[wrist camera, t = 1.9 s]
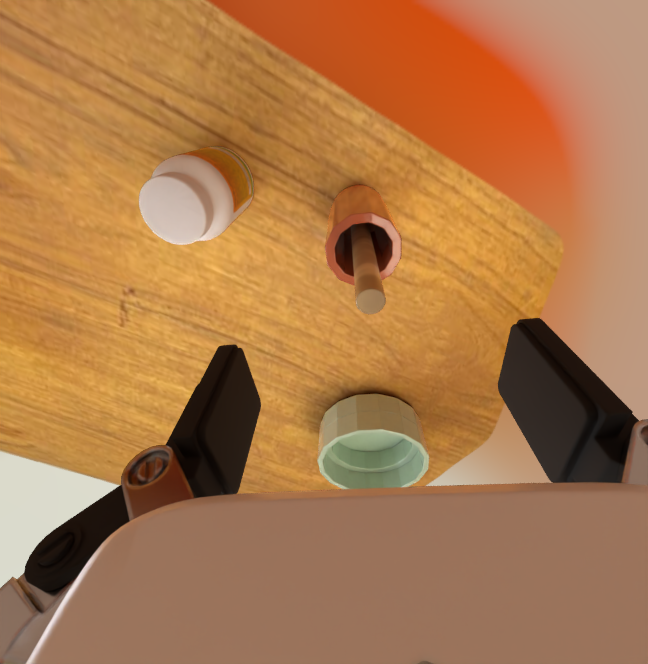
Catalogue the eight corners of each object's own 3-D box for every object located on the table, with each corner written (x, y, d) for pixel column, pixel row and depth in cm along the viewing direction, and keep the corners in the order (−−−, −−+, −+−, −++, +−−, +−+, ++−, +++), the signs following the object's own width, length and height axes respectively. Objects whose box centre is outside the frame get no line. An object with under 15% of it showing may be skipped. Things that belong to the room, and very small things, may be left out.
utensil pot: (385, 181, 26) (401, 208, 19) (386, 238, 29) (401, 282, 21) (326, 188, 27) (321, 218, 19) (333, 244, 29) (330, 289, 22)
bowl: (420, 387, 39) (431, 427, 34) (417, 452, 46) (426, 492, 41) (314, 393, 40) (310, 432, 36) (327, 455, 48) (325, 495, 43)
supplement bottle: (202, 130, 25) (135, 139, 17) (265, 169, 26) (231, 195, 18) (183, 194, 27) (117, 227, 19) (241, 226, 29) (201, 270, 21)
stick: (365, 206, 27) (385, 287, 14) (366, 223, 28) (386, 313, 15) (349, 208, 27) (354, 290, 15) (350, 225, 28) (356, 315, 15)
